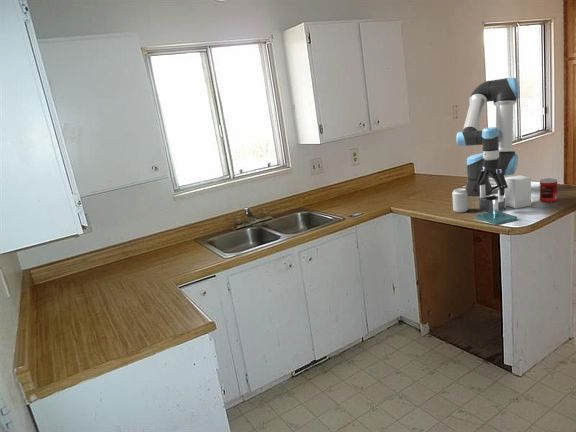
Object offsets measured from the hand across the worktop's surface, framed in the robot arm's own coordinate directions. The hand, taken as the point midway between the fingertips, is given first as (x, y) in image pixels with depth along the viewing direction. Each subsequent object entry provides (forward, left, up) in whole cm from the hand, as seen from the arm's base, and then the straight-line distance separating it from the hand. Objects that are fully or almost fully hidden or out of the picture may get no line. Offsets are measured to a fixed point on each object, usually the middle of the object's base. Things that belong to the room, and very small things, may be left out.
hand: (491, 199), depth 220 cm
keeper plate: (+14, -9, -6) cm, 17 cm away
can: (-8, -13, -6) cm, 16 cm away
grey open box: (0, 0, -6) cm, 6 cm away
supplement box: (+3, +13, -6) cm, 15 cm away
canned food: (+6, +29, -6) cm, 30 cm away
